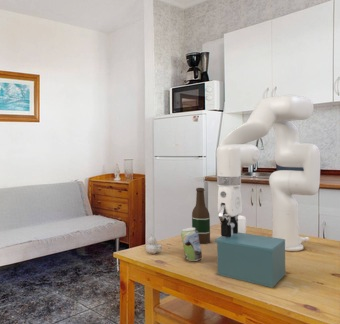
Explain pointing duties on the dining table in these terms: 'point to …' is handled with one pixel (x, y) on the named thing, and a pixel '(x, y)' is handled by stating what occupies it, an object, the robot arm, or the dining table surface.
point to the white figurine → (152, 245)
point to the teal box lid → (251, 240)
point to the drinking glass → (241, 224)
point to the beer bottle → (201, 217)
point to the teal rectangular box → (251, 263)
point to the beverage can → (191, 244)
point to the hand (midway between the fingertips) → (229, 234)
